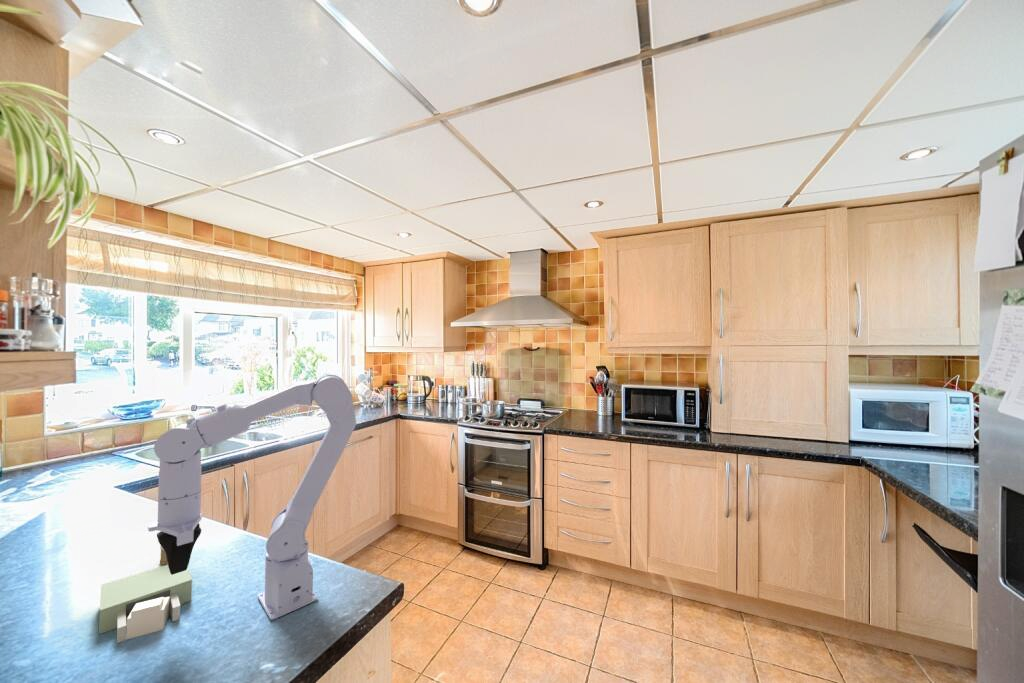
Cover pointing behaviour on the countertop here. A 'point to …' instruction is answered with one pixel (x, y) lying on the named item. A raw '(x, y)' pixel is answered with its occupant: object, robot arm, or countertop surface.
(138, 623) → the cream small block
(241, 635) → the countertop surface
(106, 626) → the deck
